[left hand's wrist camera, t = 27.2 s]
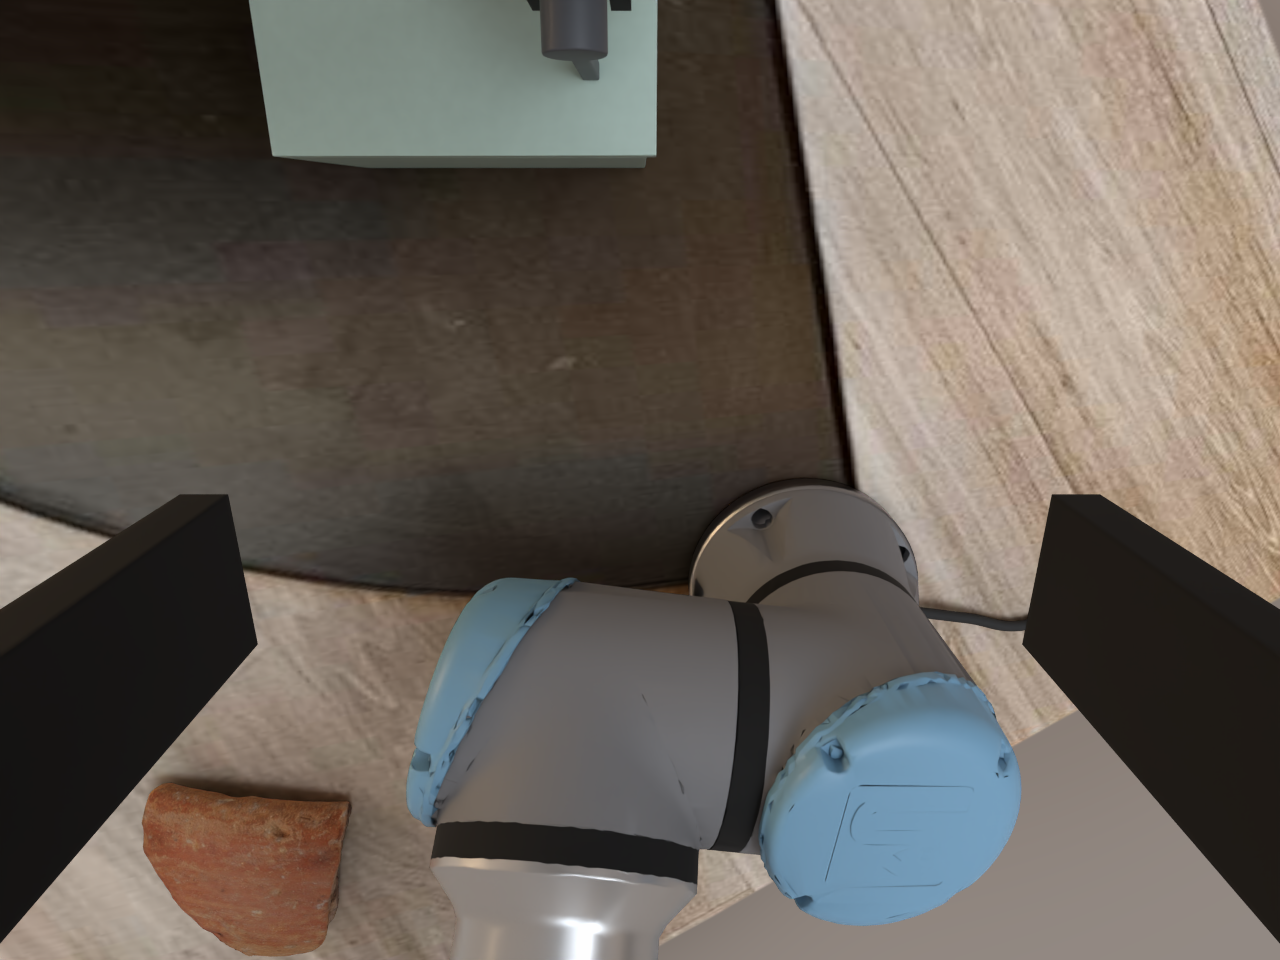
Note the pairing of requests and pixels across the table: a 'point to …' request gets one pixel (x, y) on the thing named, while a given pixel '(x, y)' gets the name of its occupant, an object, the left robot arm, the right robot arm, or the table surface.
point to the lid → (457, 78)
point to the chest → (489, 162)
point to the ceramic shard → (249, 865)
